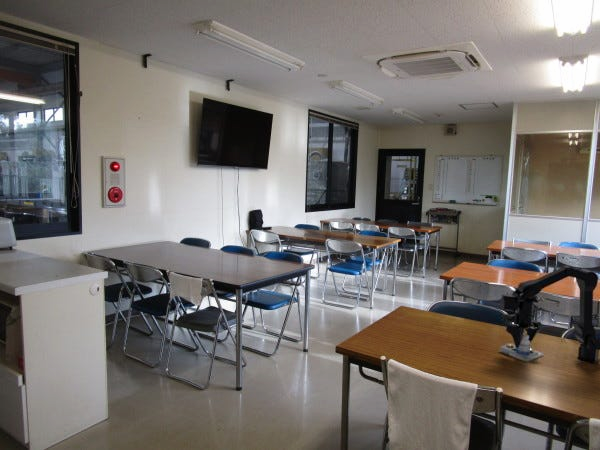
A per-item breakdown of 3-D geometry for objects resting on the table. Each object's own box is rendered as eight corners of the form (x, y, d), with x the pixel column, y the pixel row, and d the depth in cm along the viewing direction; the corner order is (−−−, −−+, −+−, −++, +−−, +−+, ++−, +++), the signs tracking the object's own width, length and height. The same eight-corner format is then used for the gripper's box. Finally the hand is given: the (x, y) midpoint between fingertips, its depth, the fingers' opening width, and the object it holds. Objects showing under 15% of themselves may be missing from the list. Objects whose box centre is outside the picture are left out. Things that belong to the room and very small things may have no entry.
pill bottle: (517, 352, 191) (518, 331, 190) (530, 355, 188) (531, 334, 187) (514, 356, 187) (515, 335, 186) (527, 359, 183) (529, 338, 183)
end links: (542, 355, 188) (543, 348, 188) (526, 361, 181) (527, 354, 181) (516, 346, 199) (516, 339, 198) (499, 351, 192) (500, 345, 191)
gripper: (519, 303, 197) (517, 336, 199) (495, 309, 187) (493, 343, 189) (543, 310, 188) (541, 343, 189) (520, 316, 178) (517, 352, 179)
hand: (522, 345), depth 187 cm, fingers open, 9 cm apart
